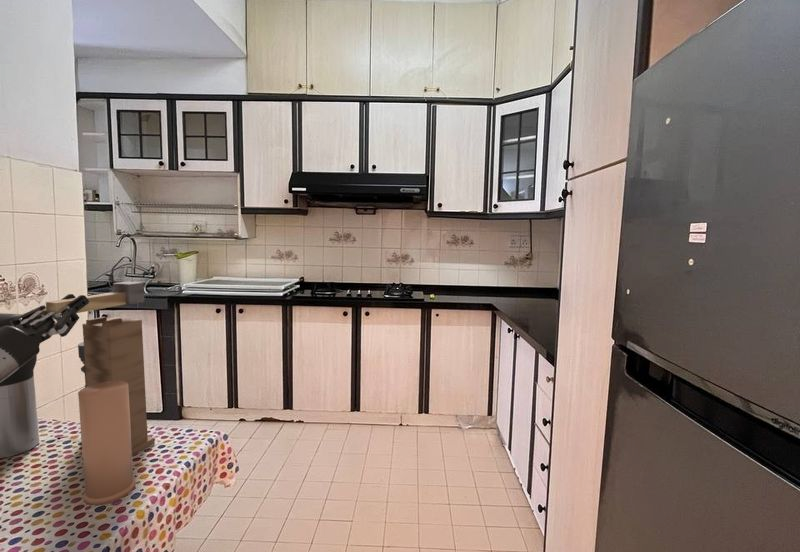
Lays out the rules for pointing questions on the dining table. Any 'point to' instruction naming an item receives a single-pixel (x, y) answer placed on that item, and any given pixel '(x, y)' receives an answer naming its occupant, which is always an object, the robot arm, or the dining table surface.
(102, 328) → the stand
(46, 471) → the dining table surface
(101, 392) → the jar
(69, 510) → the dining table surface
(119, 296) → the mallet
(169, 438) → the dining table surface
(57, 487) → the dining table surface
